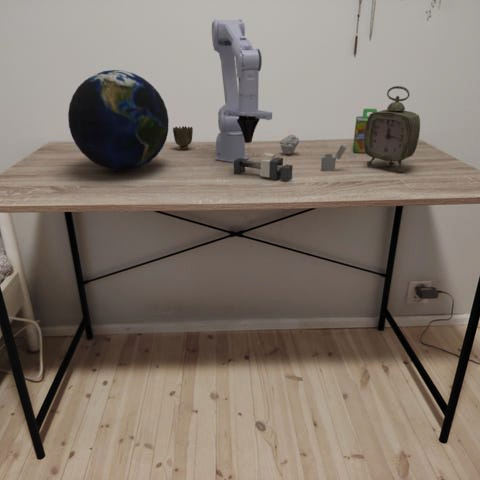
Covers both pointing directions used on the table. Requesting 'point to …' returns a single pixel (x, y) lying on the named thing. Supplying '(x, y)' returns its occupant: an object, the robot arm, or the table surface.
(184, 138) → the cup
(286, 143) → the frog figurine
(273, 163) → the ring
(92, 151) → the globe
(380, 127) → the tabletop clock
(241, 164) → the linear slide rail
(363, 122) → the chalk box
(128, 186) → the table surface
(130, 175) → the table surface
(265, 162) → the sleeve
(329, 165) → the lighter
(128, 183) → the table surface
